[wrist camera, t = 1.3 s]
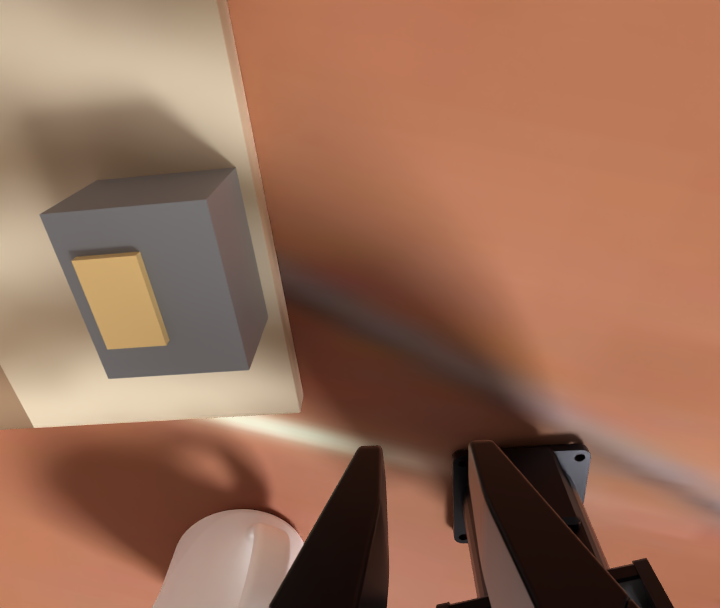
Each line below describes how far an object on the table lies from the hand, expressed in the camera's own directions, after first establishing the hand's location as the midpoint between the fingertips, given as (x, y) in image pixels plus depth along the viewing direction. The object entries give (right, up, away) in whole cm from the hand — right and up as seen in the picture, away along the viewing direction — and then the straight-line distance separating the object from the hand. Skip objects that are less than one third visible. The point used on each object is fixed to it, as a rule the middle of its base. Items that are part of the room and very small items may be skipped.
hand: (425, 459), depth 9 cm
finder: (-8, +5, +10) cm, 13 cm away
